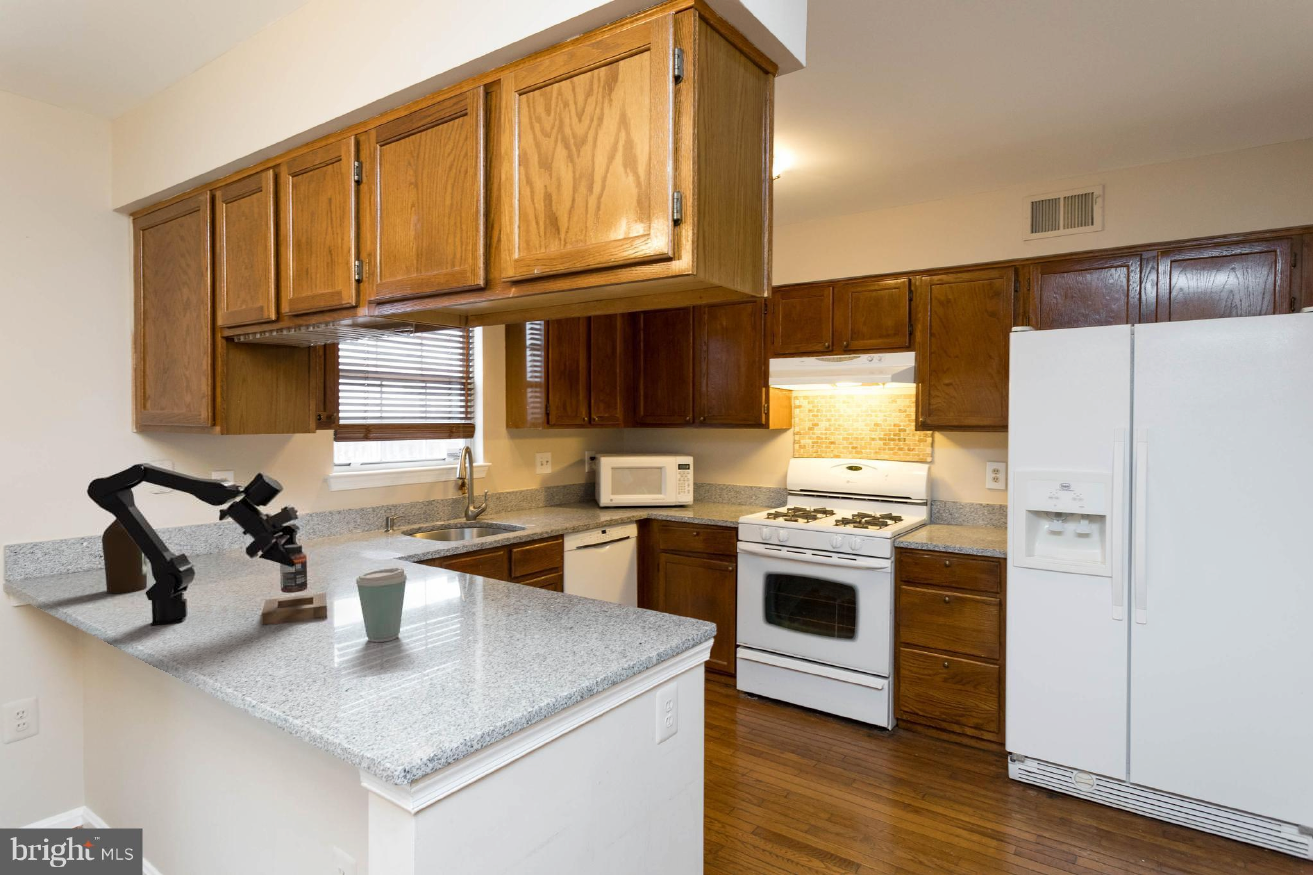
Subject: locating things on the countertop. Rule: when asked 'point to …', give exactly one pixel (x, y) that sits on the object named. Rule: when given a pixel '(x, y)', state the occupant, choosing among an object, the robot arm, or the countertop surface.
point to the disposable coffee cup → (382, 602)
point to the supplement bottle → (294, 571)
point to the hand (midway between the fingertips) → (299, 563)
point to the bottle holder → (294, 609)
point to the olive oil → (123, 561)
